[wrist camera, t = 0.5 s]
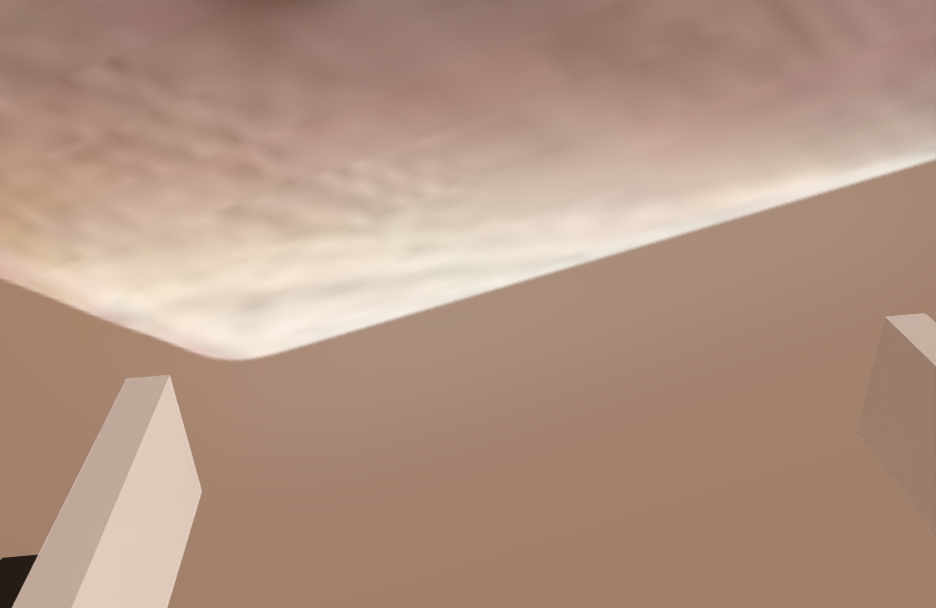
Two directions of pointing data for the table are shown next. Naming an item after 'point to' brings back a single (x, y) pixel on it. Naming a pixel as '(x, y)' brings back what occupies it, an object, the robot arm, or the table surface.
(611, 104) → the table surface
